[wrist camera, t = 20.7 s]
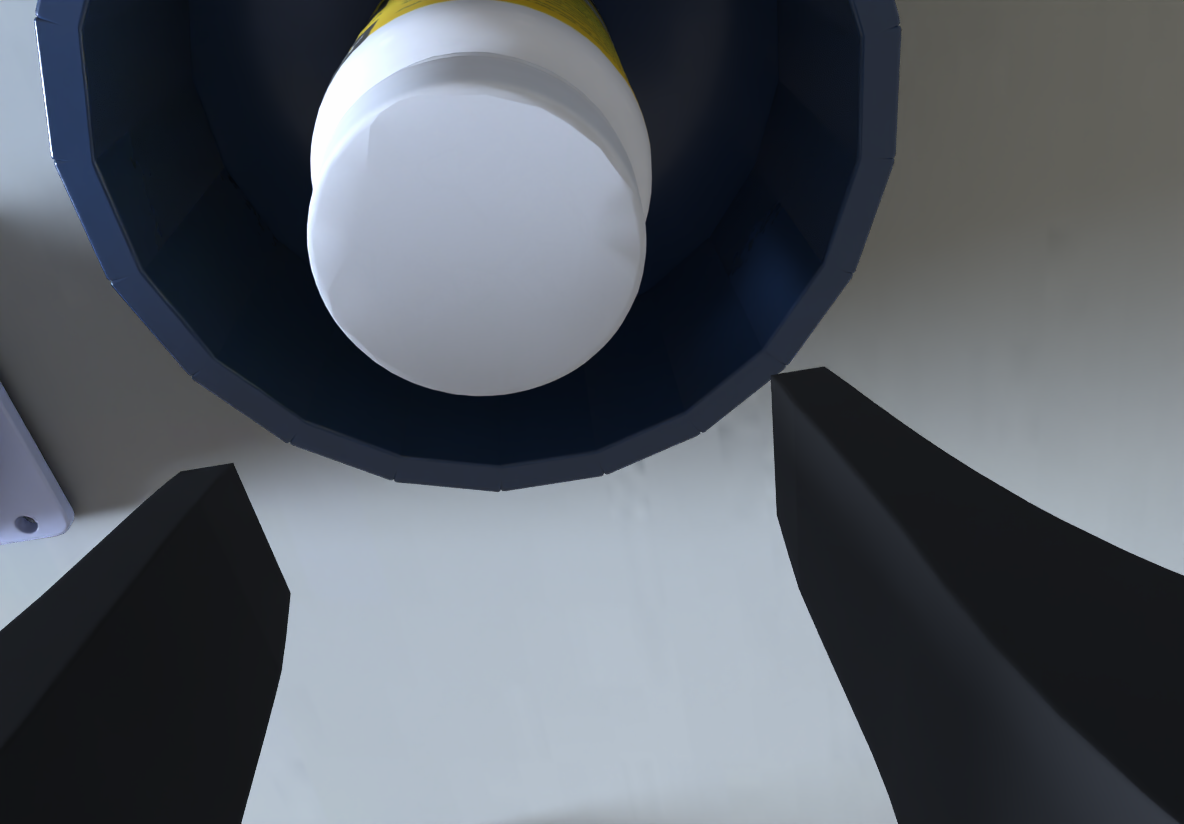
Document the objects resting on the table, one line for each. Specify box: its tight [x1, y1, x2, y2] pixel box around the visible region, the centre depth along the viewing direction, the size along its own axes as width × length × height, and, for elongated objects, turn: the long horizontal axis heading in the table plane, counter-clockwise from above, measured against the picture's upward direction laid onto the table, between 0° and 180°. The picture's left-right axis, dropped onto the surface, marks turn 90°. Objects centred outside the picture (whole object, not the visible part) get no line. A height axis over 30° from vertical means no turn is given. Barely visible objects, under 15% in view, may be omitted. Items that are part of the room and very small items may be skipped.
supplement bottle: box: [307, 0, 652, 396], centre depth 14 cm, size 5×5×8 cm
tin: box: [34, 0, 901, 492], centre depth 16 cm, size 12×12×5 cm
